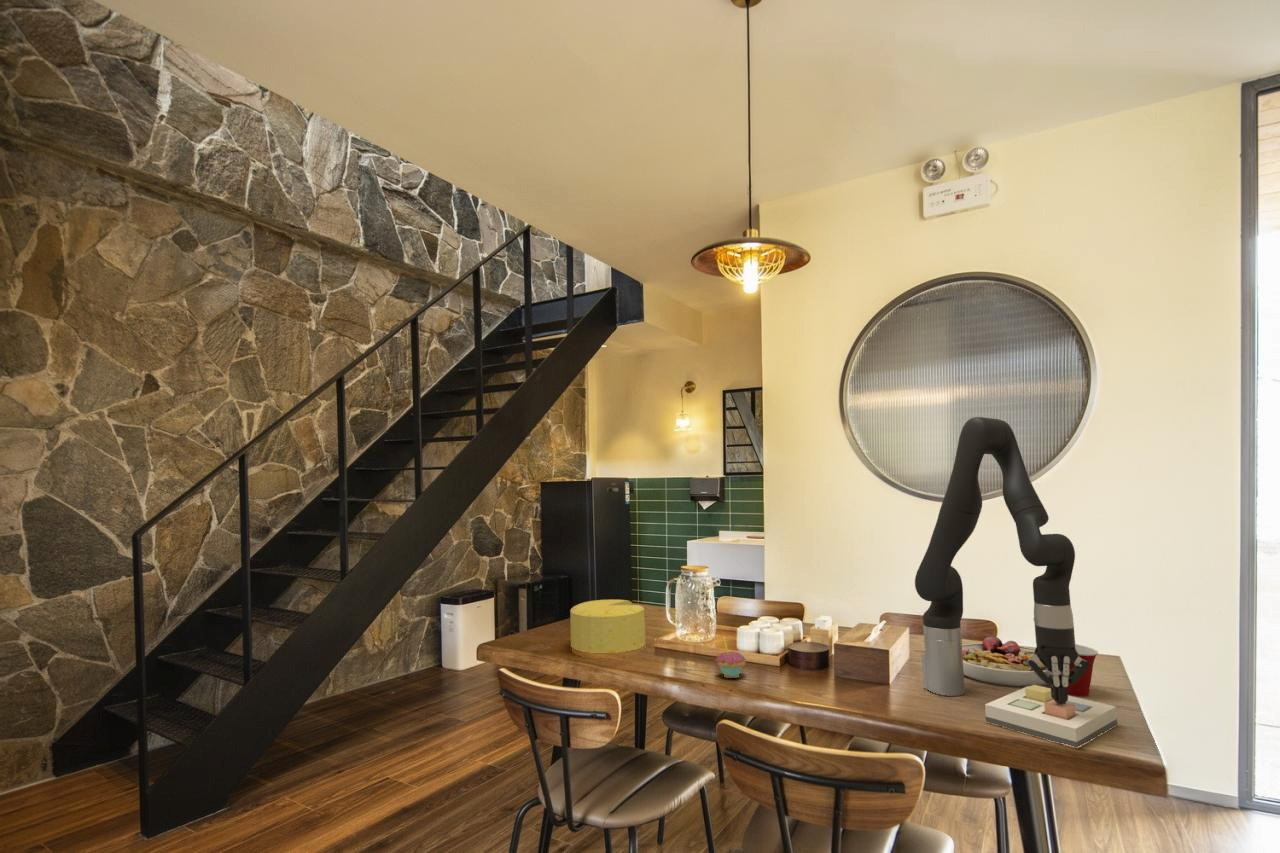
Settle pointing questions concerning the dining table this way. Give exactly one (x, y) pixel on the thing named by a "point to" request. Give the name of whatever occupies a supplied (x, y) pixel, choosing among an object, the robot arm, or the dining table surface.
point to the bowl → (1000, 663)
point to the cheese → (607, 626)
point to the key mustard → (1038, 693)
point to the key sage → (1025, 705)
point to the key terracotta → (1060, 710)
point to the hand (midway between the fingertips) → (1060, 702)
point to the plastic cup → (1084, 682)
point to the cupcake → (730, 661)
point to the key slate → (1080, 707)
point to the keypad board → (1052, 719)
